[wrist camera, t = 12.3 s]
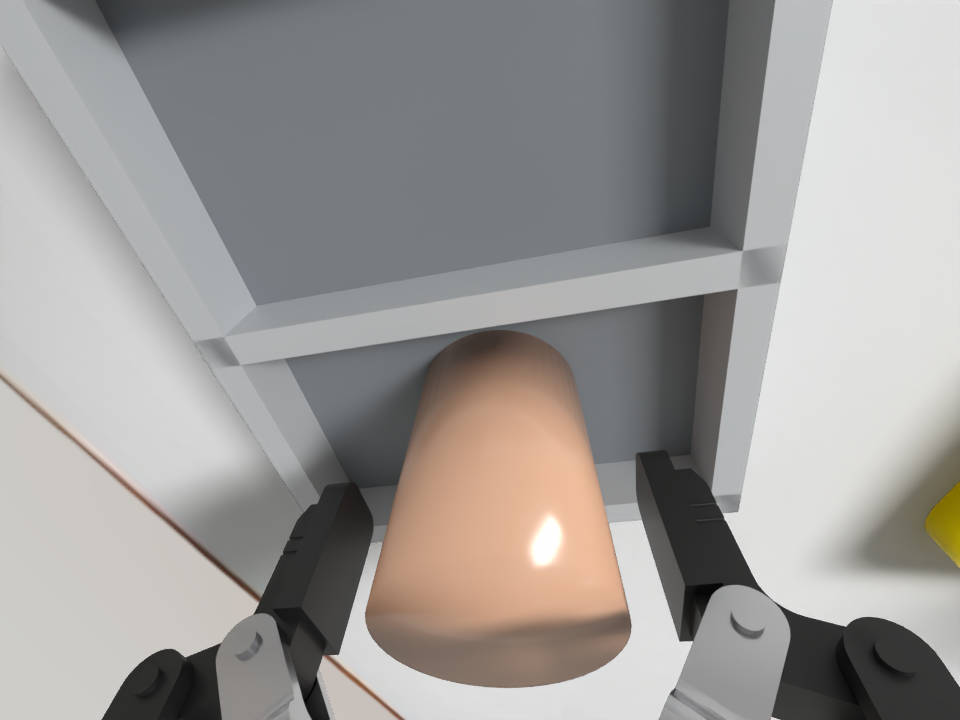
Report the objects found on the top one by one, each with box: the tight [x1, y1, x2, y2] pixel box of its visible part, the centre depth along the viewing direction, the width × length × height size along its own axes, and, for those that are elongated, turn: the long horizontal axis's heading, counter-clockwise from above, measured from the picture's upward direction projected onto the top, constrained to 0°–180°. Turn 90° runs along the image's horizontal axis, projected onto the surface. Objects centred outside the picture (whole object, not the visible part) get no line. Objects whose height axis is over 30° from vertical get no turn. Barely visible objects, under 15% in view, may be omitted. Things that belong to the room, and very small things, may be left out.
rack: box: [0, 0, 833, 542], centre depth 13 cm, size 16×19×3 cm
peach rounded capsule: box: [365, 330, 632, 688], centre depth 12 cm, size 6×6×8 cm
